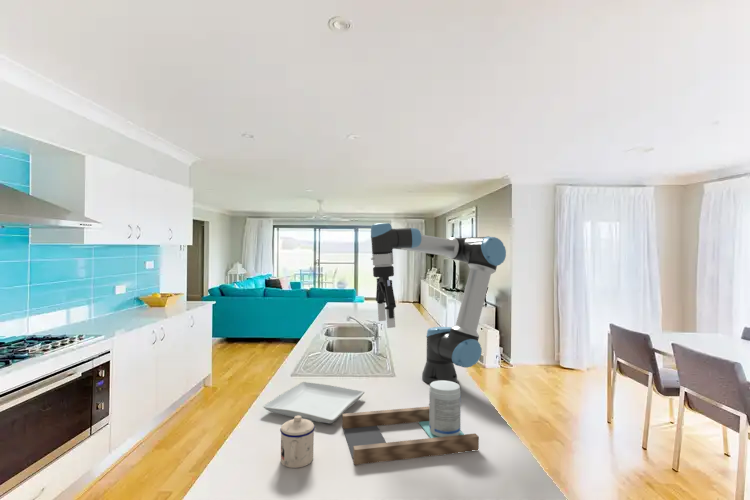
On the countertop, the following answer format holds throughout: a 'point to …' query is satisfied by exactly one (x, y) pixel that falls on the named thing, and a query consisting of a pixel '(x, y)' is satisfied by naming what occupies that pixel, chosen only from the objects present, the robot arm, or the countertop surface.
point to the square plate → (314, 402)
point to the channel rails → (403, 448)
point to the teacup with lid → (297, 442)
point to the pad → (426, 428)
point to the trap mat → (363, 436)
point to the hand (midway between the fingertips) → (386, 324)
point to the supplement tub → (444, 408)
